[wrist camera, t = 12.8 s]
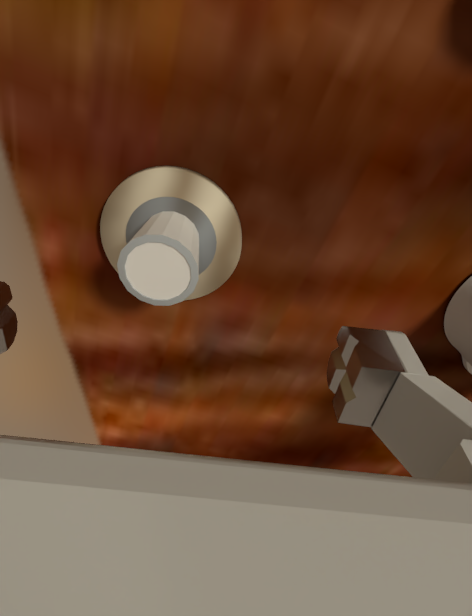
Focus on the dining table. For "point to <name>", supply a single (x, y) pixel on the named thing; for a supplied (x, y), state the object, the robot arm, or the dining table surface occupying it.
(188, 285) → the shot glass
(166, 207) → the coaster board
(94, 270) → the dining table surface
